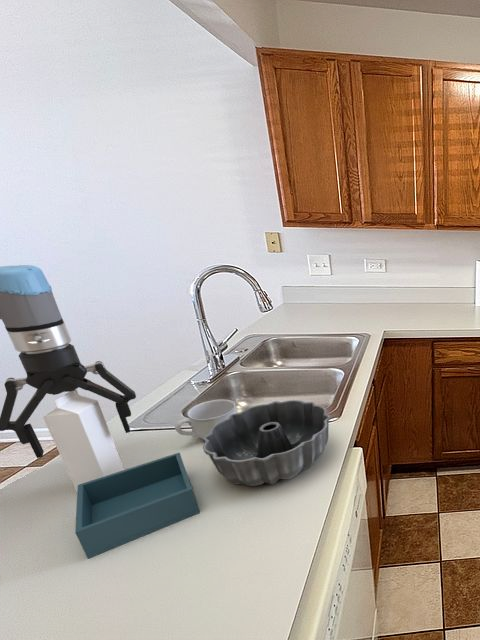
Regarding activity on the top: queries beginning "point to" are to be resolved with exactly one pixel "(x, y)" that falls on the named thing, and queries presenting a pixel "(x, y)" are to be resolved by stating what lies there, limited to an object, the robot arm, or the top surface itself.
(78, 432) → the milk
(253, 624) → the top surface
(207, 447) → the bundt pan
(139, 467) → the tote
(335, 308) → the top surface
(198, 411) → the teacup
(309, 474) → the top surface
